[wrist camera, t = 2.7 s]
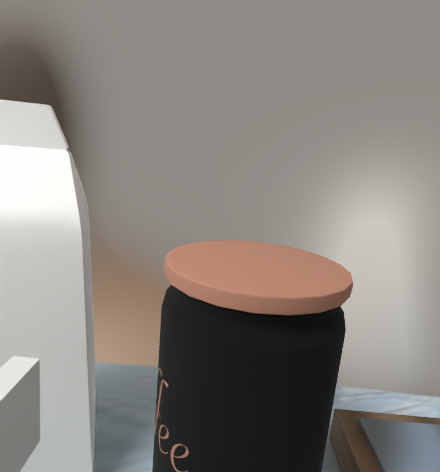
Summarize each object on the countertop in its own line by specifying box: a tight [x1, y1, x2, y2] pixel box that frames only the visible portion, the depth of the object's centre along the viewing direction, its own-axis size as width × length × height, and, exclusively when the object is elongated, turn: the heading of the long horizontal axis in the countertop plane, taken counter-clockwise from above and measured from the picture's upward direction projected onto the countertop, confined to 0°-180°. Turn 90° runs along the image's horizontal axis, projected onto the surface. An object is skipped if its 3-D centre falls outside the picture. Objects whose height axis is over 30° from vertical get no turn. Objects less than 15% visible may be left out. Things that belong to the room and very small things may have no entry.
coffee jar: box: [153, 240, 353, 472], centre depth 23 cm, size 11×11×18 cm
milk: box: [0, 100, 96, 472], centre depth 27 cm, size 12×12×26 cm
